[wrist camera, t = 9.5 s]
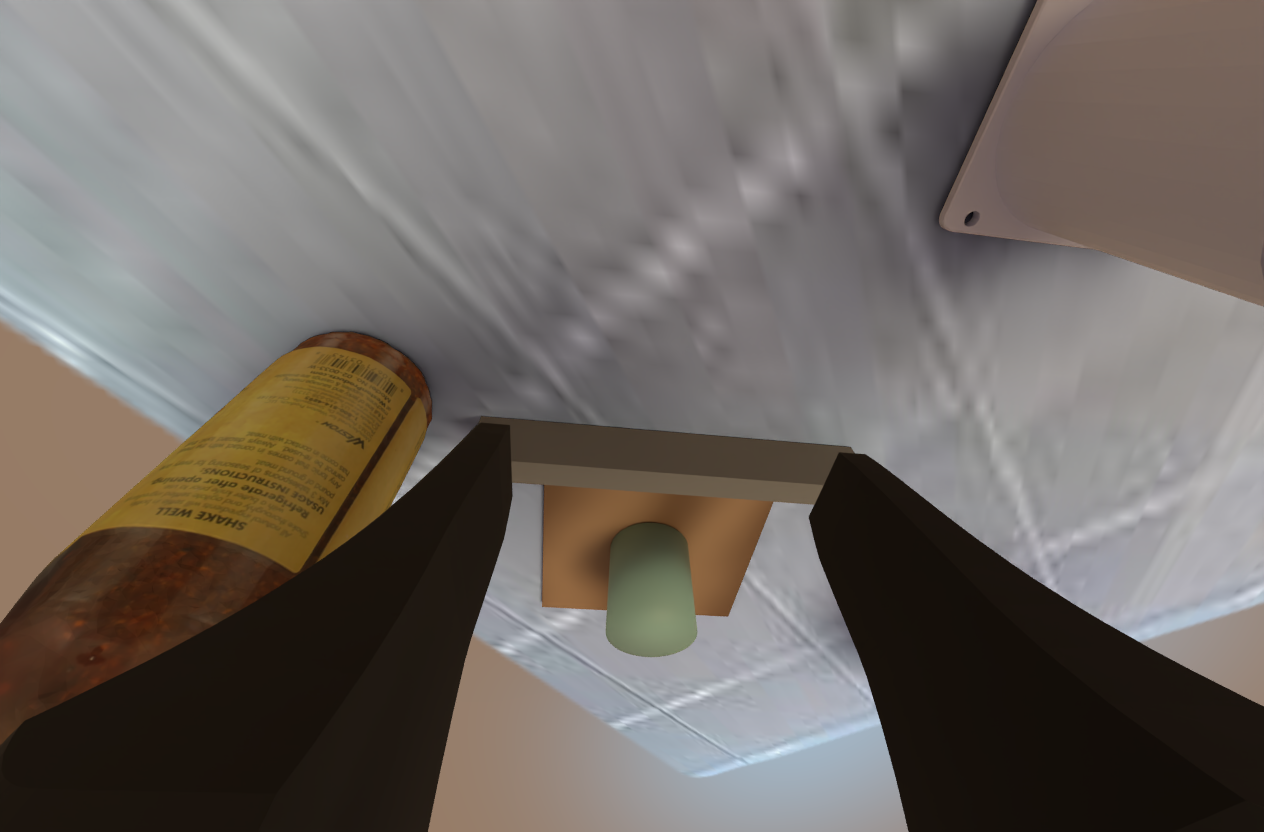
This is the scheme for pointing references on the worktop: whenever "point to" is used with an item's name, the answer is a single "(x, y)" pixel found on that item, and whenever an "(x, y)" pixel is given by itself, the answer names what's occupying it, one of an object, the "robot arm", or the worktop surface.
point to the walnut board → (596, 516)
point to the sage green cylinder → (650, 592)
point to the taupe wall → (667, 461)
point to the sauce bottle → (220, 519)
